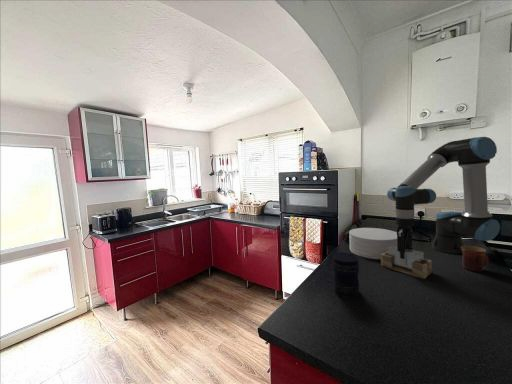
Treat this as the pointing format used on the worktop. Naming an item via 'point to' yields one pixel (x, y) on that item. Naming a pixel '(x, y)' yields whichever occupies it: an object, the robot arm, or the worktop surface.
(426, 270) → the posts
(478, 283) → the worktop surface
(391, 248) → the grey block
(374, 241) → the plate stack
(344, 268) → the storage jar
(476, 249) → the mug
